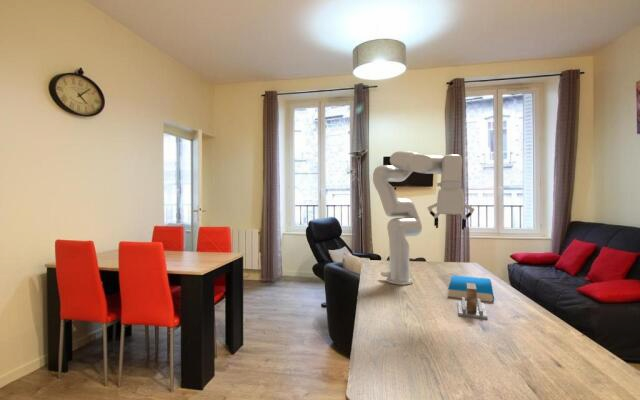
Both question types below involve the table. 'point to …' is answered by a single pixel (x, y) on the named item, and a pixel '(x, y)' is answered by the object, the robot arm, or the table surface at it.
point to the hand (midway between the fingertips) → (449, 228)
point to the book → (460, 287)
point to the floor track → (479, 314)
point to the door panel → (471, 297)
